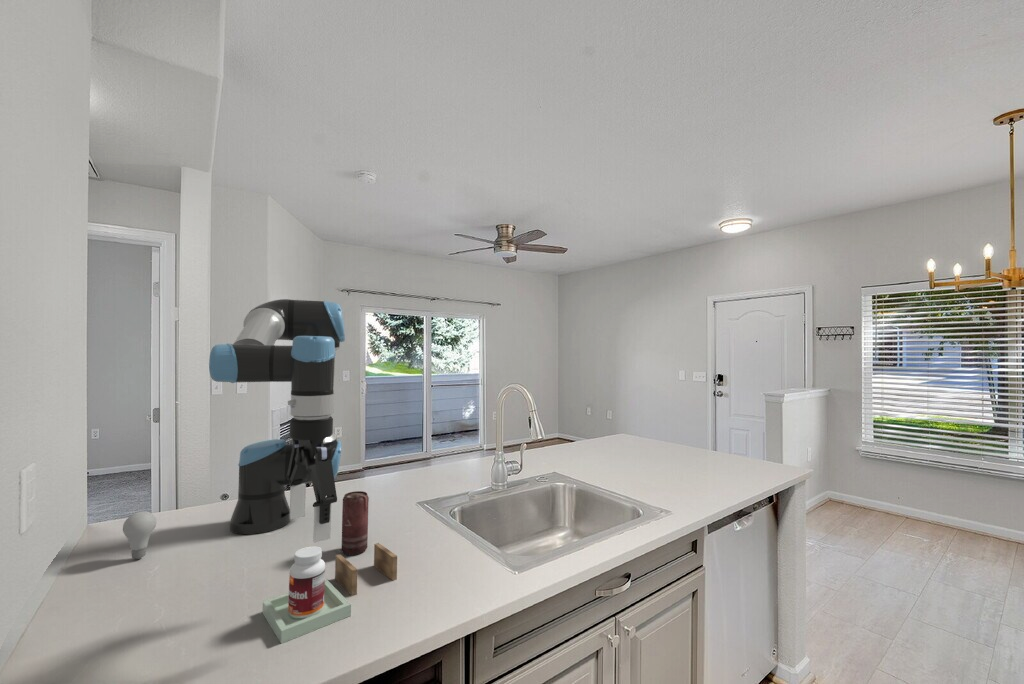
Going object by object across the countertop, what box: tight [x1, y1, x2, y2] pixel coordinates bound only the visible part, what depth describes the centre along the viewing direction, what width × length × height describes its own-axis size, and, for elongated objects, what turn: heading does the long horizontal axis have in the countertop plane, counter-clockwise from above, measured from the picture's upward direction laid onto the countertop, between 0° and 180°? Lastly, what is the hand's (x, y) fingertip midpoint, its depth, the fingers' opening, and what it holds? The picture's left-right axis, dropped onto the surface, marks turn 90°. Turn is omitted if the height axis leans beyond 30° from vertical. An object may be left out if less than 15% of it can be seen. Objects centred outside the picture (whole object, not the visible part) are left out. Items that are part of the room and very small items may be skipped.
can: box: [340, 490, 370, 557], centre depth 110 cm, size 6×6×14 cm
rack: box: [334, 542, 398, 596], centre depth 96 cm, size 9×10×5 cm
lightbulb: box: [122, 510, 157, 560], centre depth 104 cm, size 6×6×11 cm
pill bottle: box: [288, 545, 326, 619], centre depth 83 cm, size 6×6×11 cm
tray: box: [262, 579, 352, 644], centre depth 83 cm, size 12×12×2 cm
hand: (308, 528), depth 83 cm, fingers open, 13 cm apart
